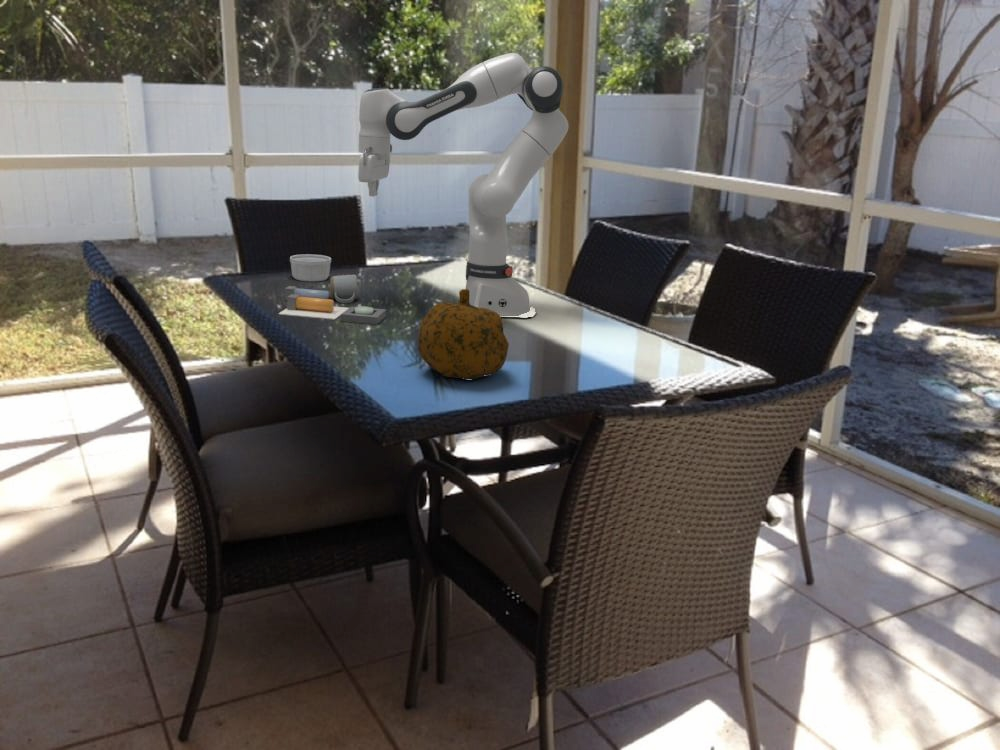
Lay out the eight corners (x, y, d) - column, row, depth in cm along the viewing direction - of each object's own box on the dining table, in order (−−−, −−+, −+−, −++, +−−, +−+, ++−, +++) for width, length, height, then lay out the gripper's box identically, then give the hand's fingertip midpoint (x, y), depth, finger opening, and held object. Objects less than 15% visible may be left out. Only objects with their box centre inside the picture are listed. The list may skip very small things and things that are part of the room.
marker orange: (334, 310, 266) (334, 298, 265) (330, 313, 263) (330, 300, 262) (291, 306, 267) (291, 294, 266) (287, 309, 264) (287, 296, 263)
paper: (349, 308, 271) (349, 307, 271) (334, 319, 257) (334, 318, 257) (295, 303, 273) (295, 302, 272) (278, 314, 259) (278, 313, 259)
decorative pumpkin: (436, 387, 203) (441, 294, 199) (406, 368, 221) (409, 282, 217) (521, 385, 211) (527, 295, 207) (485, 366, 229) (490, 284, 226)
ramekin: (298, 273, 316) (298, 252, 314) (336, 276, 314) (336, 255, 312) (284, 280, 303) (283, 259, 301) (323, 284, 302) (323, 262, 300)
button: (375, 315, 262) (375, 307, 262) (370, 319, 258) (370, 311, 257) (357, 313, 263) (357, 305, 262) (352, 317, 258) (352, 309, 258)
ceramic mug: (329, 296, 285) (329, 272, 283) (355, 296, 287) (356, 272, 285) (331, 304, 276) (332, 279, 273) (359, 304, 278) (359, 279, 275)
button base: (386, 316, 265) (386, 309, 264) (376, 324, 255) (377, 317, 255) (351, 313, 266) (351, 306, 265) (340, 321, 256) (341, 314, 256)
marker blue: (329, 301, 278) (329, 289, 277) (326, 304, 275) (326, 292, 274) (289, 297, 280) (289, 286, 278) (284, 300, 276) (284, 288, 275)
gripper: (375, 149, 259) (374, 200, 263) (393, 146, 278) (392, 193, 282) (353, 147, 259) (352, 198, 263) (372, 144, 279) (371, 191, 283)
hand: (373, 196), depth 273 cm, fingers closed
